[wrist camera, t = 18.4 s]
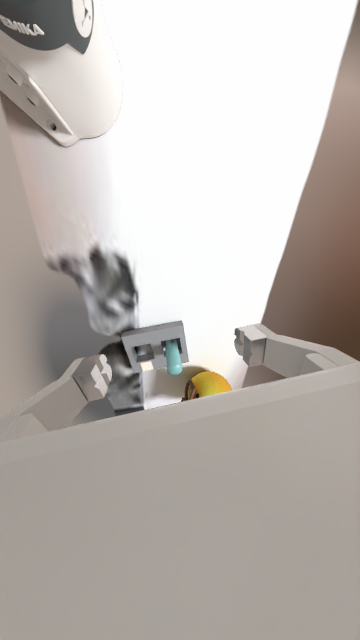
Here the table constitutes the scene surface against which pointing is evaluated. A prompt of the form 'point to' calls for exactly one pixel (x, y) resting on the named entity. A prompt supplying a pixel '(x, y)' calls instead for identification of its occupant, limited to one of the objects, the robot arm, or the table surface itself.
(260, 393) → the robot arm
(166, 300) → the table surface
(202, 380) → the emoji
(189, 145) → the table surface
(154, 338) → the socket board
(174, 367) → the teal rounded cylinder
